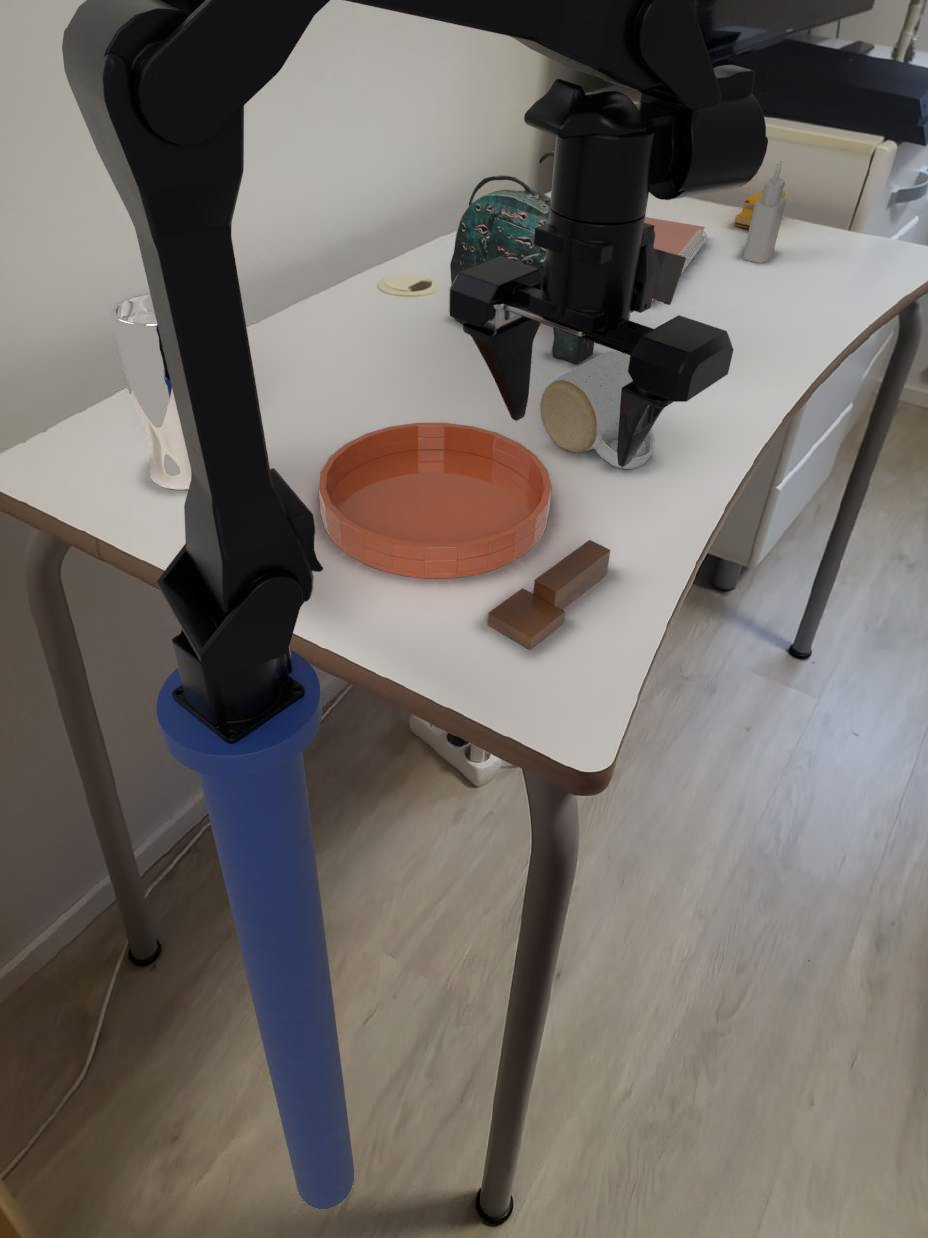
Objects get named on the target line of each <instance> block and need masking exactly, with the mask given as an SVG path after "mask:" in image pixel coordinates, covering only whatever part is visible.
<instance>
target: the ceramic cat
mask: <svg viewBox="0 0 928 1238" xmlns="http://www.w3.org/2000/svg"><path fill="white" fill-rule="evenodd" d="M554 155H555V150H552V151H549V152H546V153H544V154H543V155H542V156H541V157H540V159H539V161H538V162H539V165H541V164H542V163H543V161H545V160H546V159H547V158H548V157H554ZM493 181H511V182H514V183H517V184H518V185H520V186H521V187H523V189H524V190H514V189H501V190H495V191H492V192H490V193H487V194H484V195H482V196H480V197H478V198H477V199H475V196H476V194H477V193H478V191H479V190H480V189H481V188H482V187H484V186H485V185H486V184H488V183H489V182H493ZM474 199H475V200H474ZM550 200H551V196H548V195H547V194H546V193H543V192H541V191H536V190H534V189H533V188H531V187H530V186H529V185H528V184H526V183H525V182H524V181H522V180H520V179H519V178H517V177H515V176H512V175H503V174H500V175H492V176H488V177H484V178H483V179H481V181H479V182H478V183H477V185H476V186H475V188H474V189H473V191H472V193H471V195H470V197H469V201H468V206H467V208H466V209H465V211H464V212H463V214H462V215H461V218H460V220H459V223H458V227H457V231H456V233H455V240H454V246H453V247H454V248H453V254H452V257H451V259H450V263H449V264H450V266H449V270H450V283H451V285H452V283H453V281H454V279H455V278H456V276H457V275H458V274H459V273H460V272H462V271H464V270H467V269H470V268H472V267H475V266H477V265H480V264H482V263H485V262H487V261H490V260H492V259H495V258H498V257H500V256H502V257H505V258H508V259H511V260H514V261H517V262H520V263H523V264H526V265H529V266H532V267H535V268H538V269H539V270H540V271H541V272H542V274H543V275H544V267H545V256H546V249H545V248H542V247H539V246H536V245H534V237H535V228H536V227H539V226H542V225H544V224H547V223H548V222H549V210H550ZM451 285H450V286H451ZM453 319H454V321H456V322H458V323H461V324H463V323H464V321H462V320H459V319H456V318H454V317H453ZM552 332H553V334H552V335H553V341H552V347H551V348H552V350H551V354H552V355H551V356H552V358H555V359H561V360H564V361H566V362H569V363H572V364H574V365H577V364H579V363H581V362H584V361H585V360H587V359H588V358H590V357H591V356H594V349H595V343H594V342H592V341H589V340H586V339H583V338H581V337H578V336H575V335H573V334H570V333H567V332H564V331H562V330H559V329H556V328H553V327H552Z"/></svg>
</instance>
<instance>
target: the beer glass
mask: <svg viewBox="0 0 928 1238" xmlns="http://www.w3.org/2000/svg"><path fill="white" fill-rule="evenodd" d="M110 312H111V314H112V315H111V316H112V321H113V329H114V339H115V343H116V350H117V356H118V361H119V365H120V369H121V373H122V378H123V380H124V383H125V386H126V389H127V391H128V394H129V396H130V399H131V401H132V404H133V406H134V409H135V411H136V413H137V415H138V417H139V421H140V422H141V425H142V427H143V429H144V432H145V436H146V439H147V443H148V452H149V476H150V478H151V481H153V483H154V484H156V485H157V486H159V487H162V488H164V489H168V490H175V491H176V490H178V491H181V490H183V491H185V490H189V486H190V482H191V467H190V463H189V458H188V454H187V450H186V445H185V441H184V437H183V432H182V428H181V424H180V419H179V415H178V411H177V407H176V402H175V398H174V394H173V389H172V385H171V381H170V376H169V372H168V368H167V364H166V359H165V355H164V351H163V346H162V342H161V338H160V333H159V329H158V325H157V321H156V316H155V312H154V308H153V303H152V299H151V295H150V291H147V292H141V293H137V294H132V295H130V296H129V295H128V296H127V297H124V298H122V299H120V300H118V301H117V302H115V304H114V305H113V306H112V308H111V311H110Z"/></svg>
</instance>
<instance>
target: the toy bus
mask: <svg viewBox="0 0 928 1238" xmlns="http://www.w3.org/2000/svg"><path fill="white" fill-rule="evenodd" d="M762 194H763V190H761V191H759V192H757V193H755V194H753V195H750V196H749V197H746V198H745V199H744V200H743V204H742V209H741V212H740V213H739V214H736V215H735V218H734V226H737V227H741V228H745V229H749V227H750V223H751V218H752V214H753V209H754V205H755V203H756V202H757V201H758V200H759V199H760V198H761V197H762ZM785 197H786V192H785V191H784V190H783V193H782V198H785Z"/></svg>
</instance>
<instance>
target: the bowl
mask: <svg viewBox="0 0 928 1238" xmlns="http://www.w3.org/2000/svg"><path fill="white" fill-rule="evenodd" d="M552 489H553V487H552V482H551V478H550V474H549V471H548V469H547V467H546V466H545V464H544V463H543V462H542V461H541V460H540V458H539V457H538V456H537V455H536V454H535V453H533V452H532V451H531V450H530V449H528V448H527V447H526V446H524V445H523V444H522V443H520V442H518V441H516V440H515V439H512V438H510V437H507V436H506V435H503V434H501V433H499V432H495V431H492V430H489V429H485V428H481V427H477V426H474V425H473V426H472V425H466V424H457V423H451V422H414V423H413V422H412V423H406V424H399V425H392V426H388V427H384V428H380V429H377V430H374V431H370V432H367V433H364V434H363V435H360V436H358V437H356V438H355V439H352V440H350V441H348V442H347V443H344V444H343V445H342V446H341V447H340V448H338V449H337V450H336V451H335V452H334V453H333V454H331V455H330V456H329V457H328V459H327V461H326V463H325V464H324V465H323V468H322V469H321V471H320V473H319V481H318V497H319V507H320V515H321V520H322V524H323V527H324V529H325V531H326V533H327V535H328V537H329V538H330V539H331V540H332V542H333V543H334V544H335V545H336V546H337V547H338V548H339V549H341V551H343V552H344V553H346V554H347V555H348V556H350V557H351V558H353V559H354V560H356V561H359V562H360V563H362V564H364V565H366V566H369V567H372V568H374V569H376V570H380V571H382V572H386V573H389V574H394V575H399V576H403V577H404V576H405V577H409V578H411V577H412V578H421V579H454V578H455V579H457V578H463V577H469V576H475V575H480V574H484V573H487V572H490V571H491V572H492V571H494V570H497V569H501V568H503V567H504V566H506V565H509V564H510V563H513V562H515V561H517V560H518V559H520V558H522V557H523V556H524V555H526V554H527V553H528V552H529V551H530V550H531V549H533V548H534V547H535V545H536V544H537V543H538V542H539V541H540V539H541V537H542V536H543V534H544V533H545V530H546V528H547V525H548V518H549V513H550V505H551V499H552V498H551V496H552Z"/></svg>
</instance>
